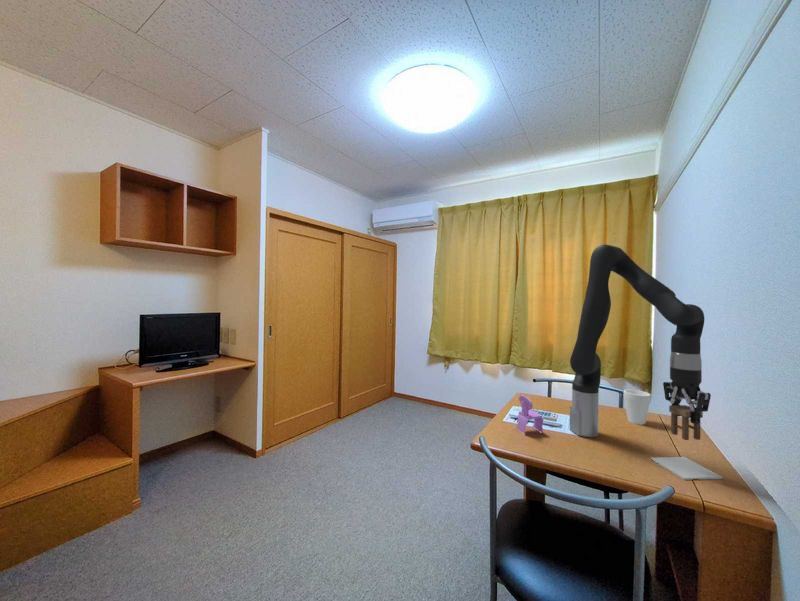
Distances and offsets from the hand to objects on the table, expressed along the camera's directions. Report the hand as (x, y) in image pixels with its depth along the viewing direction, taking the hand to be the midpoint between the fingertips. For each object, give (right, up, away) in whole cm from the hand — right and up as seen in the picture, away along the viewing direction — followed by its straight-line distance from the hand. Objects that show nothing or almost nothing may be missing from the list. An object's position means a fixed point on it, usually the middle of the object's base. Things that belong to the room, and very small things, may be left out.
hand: (685, 419), depth 101 cm
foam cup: (+13, -16, +38) cm, 43 cm away
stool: (0, -5, 0) cm, 5 cm away
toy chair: (-39, -16, +28) cm, 50 cm away
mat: (0, -16, 0) cm, 16 cm away
